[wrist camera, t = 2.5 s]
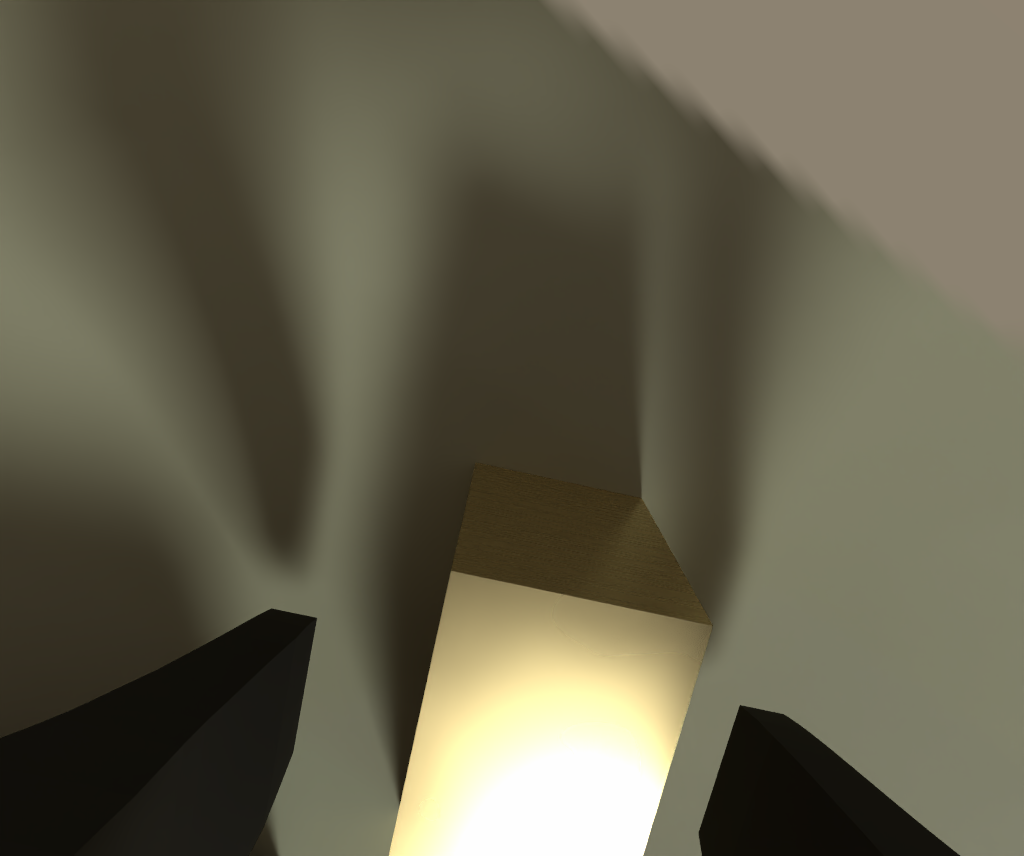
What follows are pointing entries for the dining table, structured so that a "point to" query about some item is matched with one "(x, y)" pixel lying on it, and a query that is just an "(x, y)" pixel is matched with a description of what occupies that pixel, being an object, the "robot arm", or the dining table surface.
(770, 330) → the dining table surface
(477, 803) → the gold metal block
